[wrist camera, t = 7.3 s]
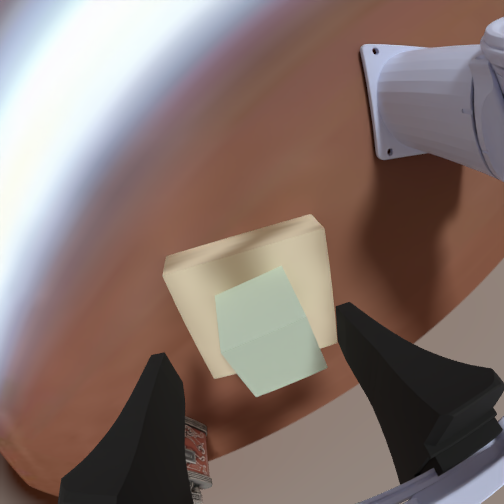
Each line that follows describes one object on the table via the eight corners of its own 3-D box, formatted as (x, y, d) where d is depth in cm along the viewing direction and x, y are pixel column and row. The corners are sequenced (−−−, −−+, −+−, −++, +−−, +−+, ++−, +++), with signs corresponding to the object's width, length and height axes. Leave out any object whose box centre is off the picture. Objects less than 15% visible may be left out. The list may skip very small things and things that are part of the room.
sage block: (281, 265, 18) (306, 316, 14) (303, 315, 21) (327, 367, 16) (214, 295, 19) (220, 352, 14) (244, 341, 21) (256, 397, 16)
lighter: (213, 425, 29) (222, 504, 21) (196, 436, 30) (202, 511, 21) (147, 401, 26) (143, 490, 17) (134, 414, 27) (128, 496, 18)
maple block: (308, 211, 20) (324, 228, 18) (324, 319, 25) (337, 342, 22) (166, 253, 20) (162, 275, 18) (212, 352, 25) (214, 379, 22)
